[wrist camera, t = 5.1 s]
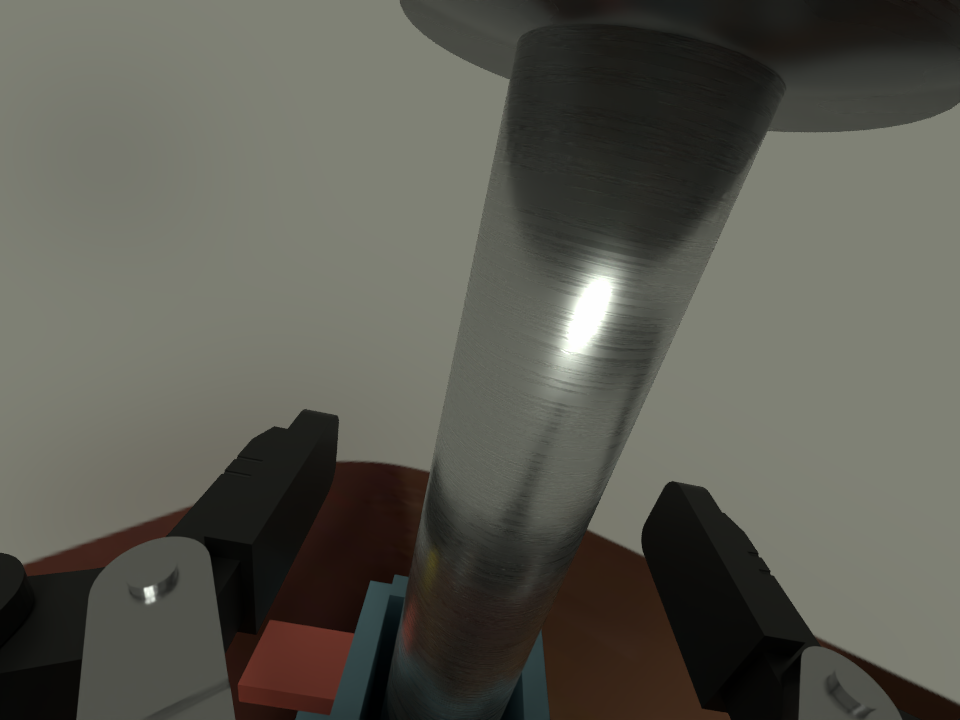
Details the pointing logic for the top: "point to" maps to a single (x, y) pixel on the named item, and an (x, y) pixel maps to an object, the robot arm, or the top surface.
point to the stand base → (356, 666)
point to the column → (605, 271)
